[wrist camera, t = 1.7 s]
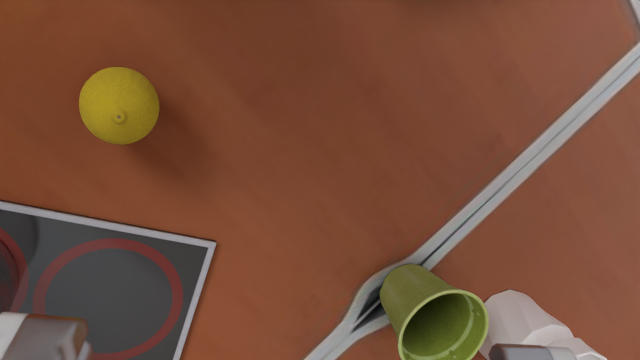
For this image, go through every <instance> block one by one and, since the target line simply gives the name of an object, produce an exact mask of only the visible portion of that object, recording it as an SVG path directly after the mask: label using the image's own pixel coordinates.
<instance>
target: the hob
mask: <svg viewBox="0 0 640 360" xmlns="http://www.w3.org/2000/svg"><path fill="white" fill-rule="evenodd" d="M0 241H1V242H2V243H3V244H4V245H5V247H6V248H7V249H8V251H9V252H10V254H11V255H12V257H13V259H14V262H15V264H16V267H17V272H18V288H17V293H16V296H15V299H14V301H13V304H12V307H11V309H10V312H14V313H28V314H40V315H51V316H62V317H74V318H84V319H86V321H87V325H88V328H89V331H88V333H87V336H86V338H85V340H87V341H88V342H89V343H90V344H91V345H92V349H93V360H179V359H180V356H181V353H182V350H183V346H184V343H185V340H186V337H187V334H188V331H189V328H190V325H191V321H192V318H193V315H194V312H195V309H196V306H197V303H198V300H199V297H200V293H201V290H202V287H203V284H204V281H205V278H206V275H207V272H208V268H209V265H210V262H211V259H212V256H213V253H214V250H215V247H216V244H217V243H216V241H214V240H209V239H204V238H198V237H193V236H188V235H183V234H177V233H172V232H167V231H162V230H156V229H151V228H146V227H141V226H135V225H130V224H125V223H120V222H114V221H109V220H104V219H99V218H93V217H88V216H83V215H78V214H72V213H67V212H62V211H56V210H51V209H46V208H41V207H35V206H30V205H25V204H20V203H14V202H9V201H4V200H0Z"/></svg>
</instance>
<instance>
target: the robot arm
mask: <svg viewBox="0 0 640 360" xmlns="http://www.w3.org/2000/svg"><path fill="white" fill-rule="evenodd" d="M88 331H89V328H88V325H87V321H86V319H84V318H74V317H62V316H51V315H40V314H28V313H14V312H2V313H1V314H0V360H93V349H92V345H91V344H90V343H89V342H88V341H87V340H85V338H86V336H87V333H88ZM488 355H489V359H490V360H577V359H576V357H575V355H574V353H573V351H572V350H570V349H569V348H566V347H550V346H541V345H523V344H502V343H496V344H495V345H493V346H492V347H491V350H490V352H489V354H488Z"/></svg>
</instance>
